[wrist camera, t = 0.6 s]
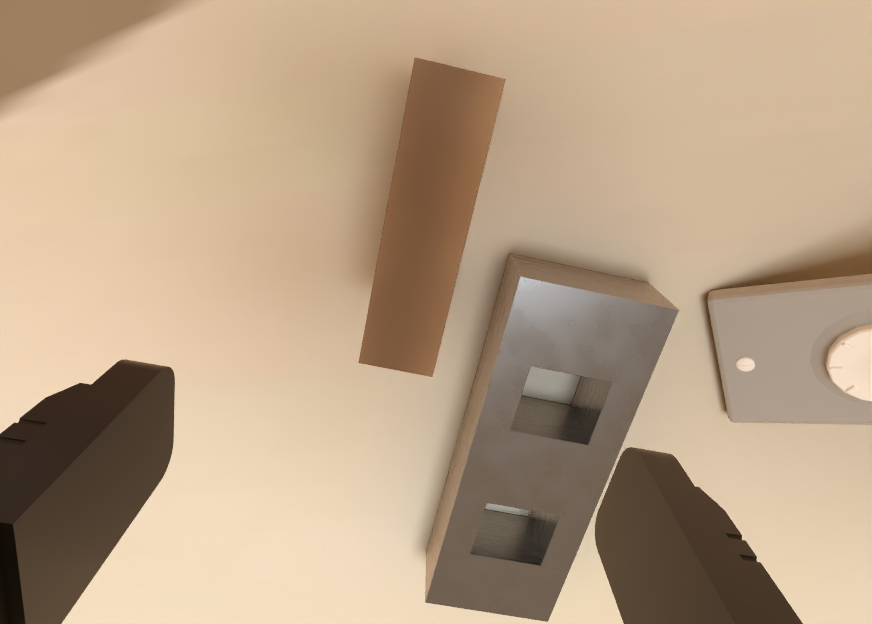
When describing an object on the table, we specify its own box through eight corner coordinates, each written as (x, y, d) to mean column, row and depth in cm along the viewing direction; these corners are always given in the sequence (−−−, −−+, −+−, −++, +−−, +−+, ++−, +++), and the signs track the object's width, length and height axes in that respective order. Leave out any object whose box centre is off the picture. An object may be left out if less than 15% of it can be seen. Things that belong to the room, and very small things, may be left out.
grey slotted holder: (648, 283, 30) (678, 310, 26) (536, 569, 38) (547, 621, 34) (509, 253, 29) (520, 276, 26) (426, 551, 37) (425, 602, 34)
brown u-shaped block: (485, 82, 26) (505, 79, 19) (433, 307, 30) (432, 376, 23) (420, 67, 26) (414, 57, 18) (377, 296, 30) (358, 362, 23)
